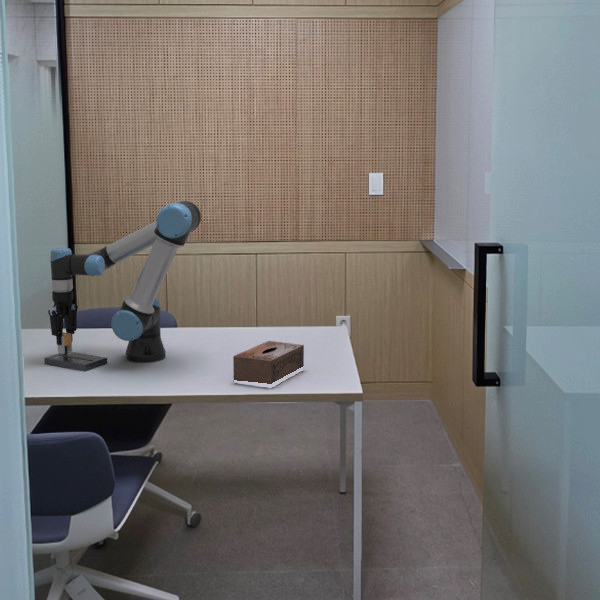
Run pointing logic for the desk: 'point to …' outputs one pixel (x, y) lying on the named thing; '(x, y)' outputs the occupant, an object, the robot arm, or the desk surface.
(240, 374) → the tissue box cover
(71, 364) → the panel
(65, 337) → the dimmer fader
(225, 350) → the desk surface
